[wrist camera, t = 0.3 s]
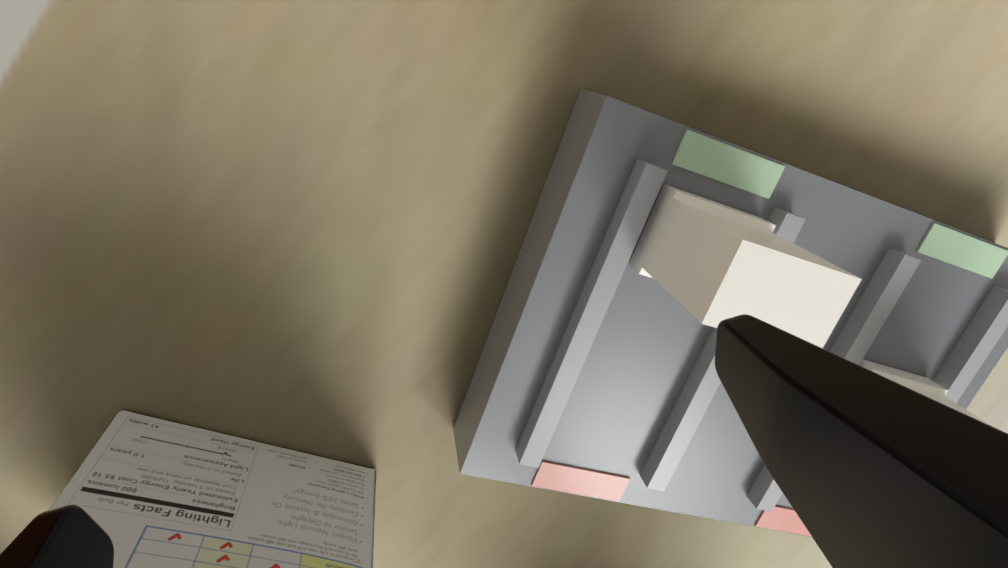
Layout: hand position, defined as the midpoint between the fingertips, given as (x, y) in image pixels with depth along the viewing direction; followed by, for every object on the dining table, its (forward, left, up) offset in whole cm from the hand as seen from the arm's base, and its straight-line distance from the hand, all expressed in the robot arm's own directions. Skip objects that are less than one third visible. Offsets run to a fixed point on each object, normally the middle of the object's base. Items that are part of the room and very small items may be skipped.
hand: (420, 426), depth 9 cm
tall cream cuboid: (+2, -10, -12) cm, 16 cm away
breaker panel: (-2, -15, -15) cm, 22 cm away
